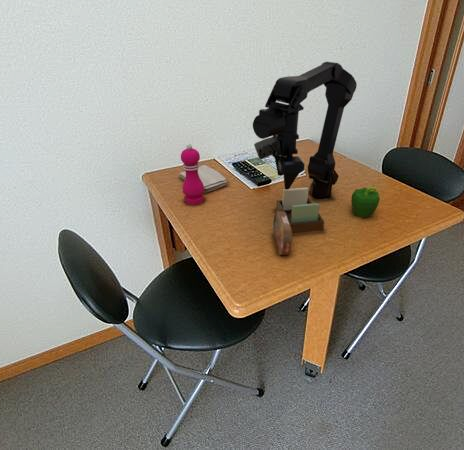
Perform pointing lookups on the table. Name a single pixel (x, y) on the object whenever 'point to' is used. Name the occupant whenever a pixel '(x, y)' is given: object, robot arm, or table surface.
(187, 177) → the pepper mill
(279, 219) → the tin
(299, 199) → the cream coaster
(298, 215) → the sage coaster
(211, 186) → the washcloth
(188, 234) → the table surface
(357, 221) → the table surface
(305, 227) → the coaster holder
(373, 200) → the bell pepper
